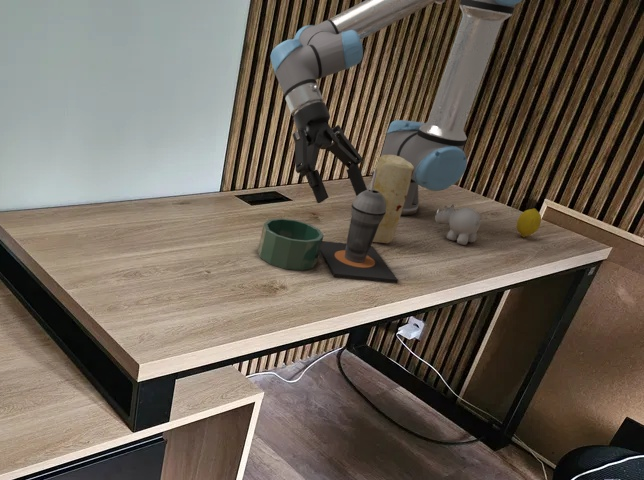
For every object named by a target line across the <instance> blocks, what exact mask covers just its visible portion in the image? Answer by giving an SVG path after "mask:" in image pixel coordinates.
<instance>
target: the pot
mask: <svg viewBox="0 0 644 480" xmlns="http://www.w3.org/2000/svg"><path fill="white" fill-rule="evenodd" d="M324 237H325V236H324V233H323V232H322V230H321V229H320V228H318V227H316V226H314V225H312V224H311V223H307V222H304V221H301V220H297V219H290V218H281V217H279V218H270V219H268V220H266V221H265V222H264V223H263V224H262V229H261V233H260V239H259V245H258V248H257V254H258V256H259V258H260V259H261V260H263V261H265V262H266V263H268V264H269V265H272V266H275V267H278V268H281V269H284V270H293V271H305V270H309V269H313V268H314V267H315V266H316V265H317V263H318V259H319V256H320V248H321V244H322V241H324Z"/></svg>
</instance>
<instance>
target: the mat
mask: <svg viewBox="0 0 644 480" xmlns="http://www.w3.org/2000/svg"><path fill="white" fill-rule="evenodd" d="M346 244H347V242H336V241H327V240H322V244H321V248H320V252H319V255H320V256H321V258H322V259H323V261H324V263H325V265H326V266H327V268H328V269H329V272H331V275H332V277H333V278H340V279H352V280H361V281H373V282H381V283H390V284H391V283H393V284H397V283H398V281H399V279H398V278H397V277H396V275H395V274H394V272H393V271H392V270H391V269H390V267H389V266H388V264H387V263H386V262H385V260H384V259H383V258H382V256H381V255H380V254H379V253H378V251H377V250H376V248H375V247H374V246H373V245H371V247H370V249H369V252H368V254H367V256H366V259H365V261H364V262H362V263H356V262H352V261H349V260H347V259H346V258H345V257H344V256H345V251H346V250H345V249H346Z"/></svg>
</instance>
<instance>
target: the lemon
mask: <svg viewBox="0 0 644 480" xmlns="http://www.w3.org/2000/svg"><path fill="white" fill-rule="evenodd" d="M541 223H542V215H541V214H540V212H539V211H538V210H537V209H536V208H529V209H526V210H524V211H523V212H522V213H521V214H520V215H519V216H518V218H517V221H516V225H515V226H516V231H517V232H518V233H519V234H520V237H522V238H525V237H528V236H532V235H534V234H535V233H536V232H537V231H538V230H539V228H540V226H541Z"/></svg>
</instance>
